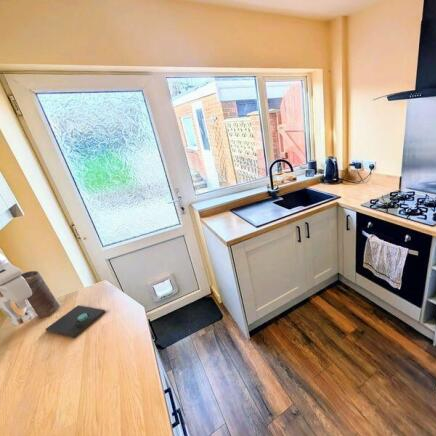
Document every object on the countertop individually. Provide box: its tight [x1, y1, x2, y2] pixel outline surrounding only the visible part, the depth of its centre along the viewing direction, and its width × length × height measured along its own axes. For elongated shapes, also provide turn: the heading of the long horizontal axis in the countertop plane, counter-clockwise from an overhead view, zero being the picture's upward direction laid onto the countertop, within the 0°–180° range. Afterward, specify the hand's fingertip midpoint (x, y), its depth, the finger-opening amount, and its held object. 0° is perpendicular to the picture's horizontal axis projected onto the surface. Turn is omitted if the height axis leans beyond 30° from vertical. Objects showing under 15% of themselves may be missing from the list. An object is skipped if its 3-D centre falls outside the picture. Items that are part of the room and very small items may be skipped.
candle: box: [21, 270, 60, 318], centre depth 105 cm, size 8×7×20 cm
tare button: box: [78, 313, 88, 322], centre depth 99 cm, size 3×3×2 cm
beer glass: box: [0, 289, 37, 327], centre depth 83 cm, size 7×7×15 cm
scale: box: [44, 305, 106, 339], centre depth 101 cm, size 16×13×3 cm
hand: (16, 305), depth 83 cm, fingers closed on beer glass, 6 cm apart
